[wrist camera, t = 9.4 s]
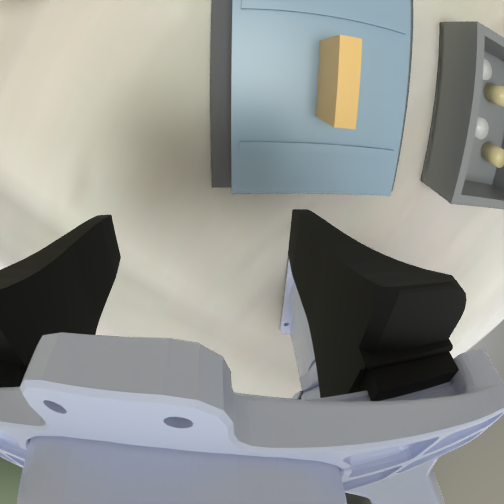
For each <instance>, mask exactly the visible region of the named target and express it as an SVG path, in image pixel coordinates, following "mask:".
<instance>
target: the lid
mask: <svg viewBox="0 0 504 504" xmlns="http://www.w3.org/2000/svg"><path fill="white" fill-rule="evenodd" d="M410 33H411V0H232V39H231V185H232V194H251V193H316V194H356V195H381V196H391V191H392V186H393V181H394V176H395V171H396V165H397V160H398V154H399V148H400V141H401V135H402V128H403V121H404V113H405V104H406V95H407V85H408V73H409V58H410Z"/></svg>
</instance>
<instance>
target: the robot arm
mask: <svg viewBox="0 0 504 504" xmlns="http://www.w3.org/2000/svg"><path fill="white" fill-rule="evenodd" d="M288 256H289V259H288V267H287V276H286V284H285V292H284V301H283V309H282V316H281V324H280V332H281V333H282V334H291V338H292V343H293V348H294V352H295V357H296V361H297V366H298V371H299V375H300V383H301V387H302V391H300V392H298V393H296V394H295V395H294V396H293V398H292V399H290V398H278V397H268V396H258V395H250V394H242V393H235V392H233V389H232V384H231V371H230V369H229V367H228V366H227V364H226V362H225V360H224V358H223V356H221V355H219V354H217V353H215V352H214V351H212V350H210V349H208V348H206V347H205V346H203V345H201V344H199V343H197V342H191V341H185V340H179V339H174V338H145V337H120V336H102V335H95V334H96V329H97V326H98V322H99V319H100V316H101V314H102V311H103V308H104V306H105V303H106V301H107V298H108V296H109V293H110V291H111V288H112V286H113V283H114V280H115V278H116V274H117V271H118V267H119V262H120V258H121V256H120V252H119V248H118V244H117V240H116V235H115V231H114V226H113V221H112V216H111V215H98V216H96V217H93V218H91V219H89V220H88V221H86V222H84V223H83V224H81V225H79V226H78V227H76V228H75V229H73V230H72V231H70V232H69V233H67V234H66V235H64V236H62V237H61V238H59V239H58V240H56V241H54V242H53V243H51V244H50V245H48V246H47V247H45V248H43V249H42V250H40V251H38V252H36V253H35V254H33V255H31V256H29V257H27V258H25V259H23V260H21V261H19V262H17V263H15V264H12V265H10V266H8V267H6V268H4V269H1V270H0V457H2V458H4V459H6V460H8V461H10V462H12V463H14V464H16V465H18V466H21V467H23V471H22V476H21V481H20V487H19V493H18V499H17V504H347V502H346V497H345V492H346V493H351V494H355V495H360V496H363V497H367V498H369V499H370V501H371V503H372V504H446V503H445V501H444V498H443V495H442V492H441V490H440V487H439V485H438V482H437V480H436V478H435V475H434V473H433V470H432V467H433V465H434V464H435V462H436V461H437V459H438V457H440V456H442V455H444V454H446V453H448V452H450V451H452V450H454V449H456V448H458V447H460V446H462V445H464V444H466V443H468V442H470V441H472V440H473V439H475V438H476V437H477V436H479V435H480V434H481V433H482V432H483V431H484V430H486V429H487V428H488V427H489V426H491V425H492V424H493V423H494V422H495V421H496V420H497V419H499V418H500V417H501V416H502V415H503V414H504V382H503V381H502V379H501V377H500V375H499V373H498V372H497V370H496V368H495V366H494V365H493V363H492V361H491V360H490V358H489V356H488V355H487V353H486V351H485V350H484V348H478V349H475V350H472V351H468V352H465V353H462V354H460V355H458V356H457V357H455V358H454V359H453V358H452V356H451V354H450V352H449V351H451V350H452V348H453V345H452V343H451V342H450V340H449V337H450V335H451V333H452V332H453V330H454V328H455V327H456V325H457V323H458V322H459V320H460V318H461V316H462V314H463V312H464V309H465V305H466V293H465V292H464V290H463V289H462V288H461V286H460V285H459V284H458V282H457V281H456V280H455V279H454V277H453V276H452V275H448V274H444V273H439V272H435V271H430V270H426V269H422V268H419V267H416V266H413V265H409V264H406V263H404V262H401V261H398V260H396V259H393V258H391V257H388V256H386V255H383V254H381V253H379V252H377V251H375V250H373V249H371V248H369V247H367V246H365V245H363V244H361V243H359V242H358V241H356V240H354V239H353V238H351V237H349V236H348V235H346V234H344V233H343V232H341V231H340V230H338V229H337V228H335V227H334V226H332V225H331V224H329V223H328V222H327V221H325V220H324V219H322V218H321V217H319V216H318V215H316V214H315V213H313V212H312V211H310V210H293V211H292V221H291V231H290V241H289V250H288Z"/></svg>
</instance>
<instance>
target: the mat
mask: <svg viewBox="0 0 504 504" xmlns="http://www.w3.org/2000/svg"><path fill="white" fill-rule="evenodd" d="M231 39H232V0H212V13H211V66H210V113H211V170H212V188H214V187H232V185H231ZM412 39H413V0H411V33H410V58H409V73H408V85H407V95H406V104H405V113H404V121H403V128H402V135H401V141H400V148H399V154H398V160H397V165H396V171H397V166H398V161H399V155H400V150H401V144H402V137H403V131H404V124H405V117H406V110H407V101H408V93H409V83H410V72H411V58H412ZM396 171H395V176H396ZM395 176H394V181H395ZM394 181H393V186H394ZM393 186H392V191H393Z"/></svg>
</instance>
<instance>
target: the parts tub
mask: <svg viewBox="0 0 504 504" xmlns="http://www.w3.org/2000/svg"><path fill="white" fill-rule="evenodd" d="M421 181H422V182H423V183H425V184H426V185H427V186H429V187H430V188H431V189H433V190H434V191H435V192H437V193H438V194H439V195H440V196H442V197H443V198H444V199H446V200H447V201H448V202H449V203H451V204H458V205H469V206H478V207H488V208H497V209H504V38H503V37H502V36H500V35H498V34H497V33H495V32H494V31H492V30H490V29H489V28H487V27H485V26H484V25H482V24H480V23H479V22H443V23H440V45H439V63H438V75H437V86H436V95H435V103H434V111H433V118H432V124H431V130H430V136H429V142H428V147H427V153H426V158H425V163H424V168H423V172H422V177H421Z"/></svg>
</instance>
